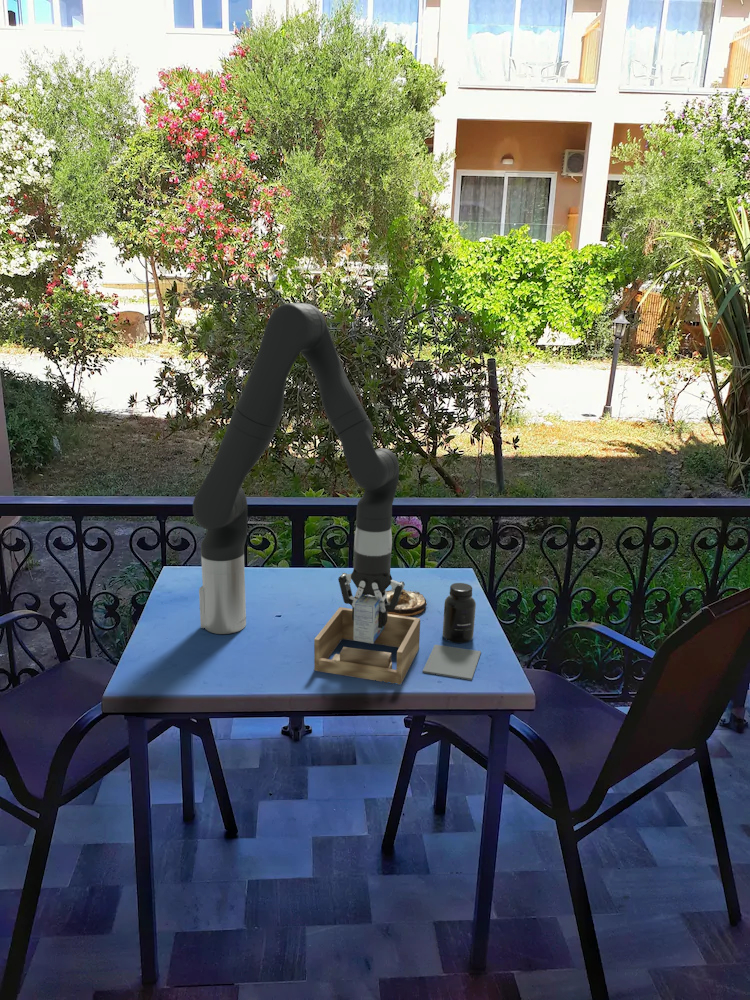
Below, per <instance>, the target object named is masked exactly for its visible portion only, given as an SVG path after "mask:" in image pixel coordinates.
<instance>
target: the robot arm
mask: <svg viewBox="0 0 750 1000" xmlns="http://www.w3.org/2000/svg"><path fill="white" fill-rule="evenodd" d="M332 338H333V337H332V336H331V333H330V330H329V327H328V324H327V322H326V320H325V317H324V315H323V313H322V312H321V311H320V310H319V308H317V306H315V305H313V304H310V303H306V302H289V303H288V302H286V303H283V304H280V305H279V306H278V307H276V308H275V309H274V310H273V312H271V314H270V316H269V318H268V321H267V323H266V326H265V329H264V333H263V336H262V339H261V342H260V346H259V349H258V352H257V356H256V359H255V361H254V365H253V367H252V369H251V371H250V373H249V376H248V378H247V380H246V383H245V386H244V388H243V390H242V392H241V395H240V397H239V399H238V401H237V403H236V405H235V408H234V410H233V412H232V416H231V417H230V420H229V423H228V426H227V428H226V431H225V432H224V436H223V438H222V440H221V442H220V445H219V448H218V450H217V453H216V457H215V459H214V462H213V463H212V466H211V468H210V469H209V471H208V473H207V475H206V476H205V478H204V481H203V482H202V483H201V485H200V487H199V489H198V491H197V493H196V495H195V496H194V498H193V503H192V514H193V517H194V519H195V521H196V523H197V524H198V525H199V526H200V527H201V528H203V529H204V530H206V534H205V536H204V537H203V539H202V541H201V543H200V554H201V557H200V558H201V560H200V561H201V579H202V586H200V587H199V589H198V594H199V596H198V599H199V617H200V629H204V628H205V630H206V631H207V632H209V633H212V634H216V635H217V634H218V635H228V634H234V633H237V632H240V631H242V630H243V629H245V627H246V626H247V613H246V612H247V611H246V610H247V609H246V608H247V607H246V605H247V603H246V577H245V573H246V571H245V544H246V541H247V538H248V537H247V535H248V501H247V496H246V494H245V491H244V490H243V488H242V485H243V483H244V481H245V478H246V477H247V476H248V475H249V473H250V472H251V471H252V469H253V468H254V466H255V465H256V464H257V463H258V461H259V459H260V458H261V457H262V456H263V454H264V453H265V452H266V450H267V449H268V447H269V446H270V443H271V441H272V440H273V437H274V436H275V433H276V431H277V428H278V426H279V424H280V421H281V419H282V415H283V412H284V406H285V405H284V404H285V403H284V402H285V387H286V382H287V379H288V376H289V373H290V372H291V369H292V368H293V365H294V363H295V361H296V359H297V358H298V356H299V354H300V353H301V354H302V356H303V357H304V358H305V360H306V361H307V363H308V365H309V367H310V368H311V370H312V372H313V374H314V377H315V380H316V383H317V386H318V390H319V395H320V399H321V403H322V407H323V410H324V413H325V415H326V418H327V419H328V421H329V423H330V425H331V426H332V429H333V431H334V432H335V434H336V436H337V437H338V439H339V441H340V443H341V445H342V449H343V450H342V451H343V455H344V457H345V460H346V464H347V468H348V470H349V473H350V475H351V477H352V479H353V480H354V481H355V482H356V483H355V484H357V485H358V486H360V487H361V488H362V489H364V491H363V492H364V493H363V495H362V496H361V497H360V498H359V500H358V501H357V505H356V519H355V521H356V523H355V524H356V526H355V532H354V542H353V543H354V545H353V569H352V570H353V571H352V573H347V572H342V574H340V576H339V577H338V579H337V580H338V584H339V587H340V592H341V595H342V600H343V603H344V604H346V605H350V606H351V607H352V608H351V609H352V620H353V621H354V604H355V602H356V601H357V600H358V599H360V598H361V597H362V596H363V595H372V596H375V597H376V600H377V602H378V603H379V608H380V611H379V623H378V628H382V627H383V626H385V624H386V623H387V616H388V611H394V609H395V607H396V606H397V604H398V601H399V599H400V596H401V593H402V591H403V589H404V588H405V582H404V581H397V580H395V579H393V577H392V575H391V567H392V566H391V563H392V549H393V536H392V520H393V519H392V517H393V504H394V503H393V502H394V501H395V500H394V499H395V497H396V491H397V489H398V488H397V486H398V483H399V478H400V465H399V460H398V457H397V456H396V455H395V453H394V452H393V451H392V450H390V449H387V448H383V447H381V448H375V446H374V444H373V441H372V438H371V437H372V435H373V434H374V427H373V423H372V422H371V419H370V418H369V416H368V415H367V412H366V411H365V409H364V407H363V406H362V404H361V402H360V400H359V398H358V396H357V394H356V393H355V391H354V388H353V386H352V384H351V383H350V379H349V378H348V375H347V374H346V372H345V369H344V367H343V364H342V361H341V360H340V357H339V355H338V352H337V349H336V346H335V345H334V342H333V341H334V340H333V339H332ZM352 582H353V584H354V586H355V587H356V588H357V590H356V592H355V595H354V596H353V592H352V588H351V583H352ZM389 586H391V589H392V591H393V592H394V594H393V597H392V600H391V602H390V603H388V600H387V593H386V591H387V589H388V588H389Z"/></svg>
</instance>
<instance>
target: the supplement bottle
mask: <svg viewBox="0 0 750 1000" xmlns="http://www.w3.org/2000/svg"><path fill="white" fill-rule="evenodd" d="M476 605H477V603H476V601H475V599H474V598H473V586H472V585H471V584H469V583H464V582H454V583H452V584H451V585H450V586H449V595H447V597H446V598H445V600H444V607H443V622H442V637H443V638H444V639H446V641H448V642H451V643H456V644H464V643H469V642H470V641H471V640H473V638H474V631H475V620H476V619H475V618H476V609H477V608H476Z"/></svg>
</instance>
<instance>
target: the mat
mask: <svg viewBox="0 0 750 1000" xmlns="http://www.w3.org/2000/svg"><path fill="white" fill-rule="evenodd" d="M481 654H482V651H481V650H475V649H474V650H473V649H467V648H461V647H455V646H454V647H453V646H447V645H441V644H434V645H433V647H432V649H431V653H430V654H429V656H428V658H427V660H426V663H425V665H424V667H423V669H422V673H423V674H428V675H430V674H431V675H435V674H436V676H441V675H442V676H444V677H448V678H455V679H460V678H461V679H462V680H468V681H472V680H473V678H474V675H475V671H476V669H477V666H478V662H479V660H480V656H481ZM461 679H460V680H461Z"/></svg>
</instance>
